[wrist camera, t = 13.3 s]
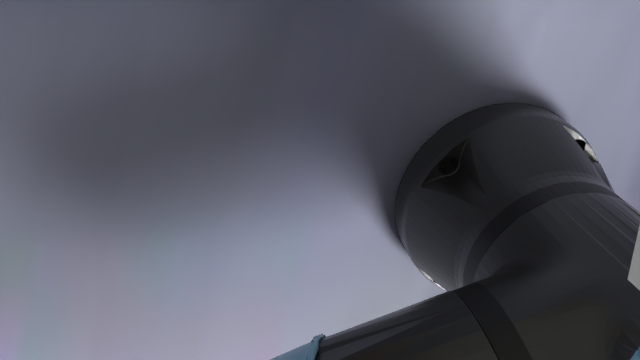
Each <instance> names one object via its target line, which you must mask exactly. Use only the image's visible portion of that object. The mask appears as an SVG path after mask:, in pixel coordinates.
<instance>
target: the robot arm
mask: <svg viewBox="0 0 640 360" xmlns="http://www.w3.org/2000/svg"><path fill="white" fill-rule="evenodd" d="M395 217H396V226H397V230H398V234H399V237H400V239H401V242H402V244H403V245H404V247H405V249H406V251H407V253H408V254H409V256H410V258H411V260H412V261H413V263H414V264H415V266H416V267H417V268H418V270H419V271H420V272H421V273H422V274H423V275H424V276H425V277H426V278H427V279H429V280H430V281H431V282H433V283H434V284H436V285H437V286H439V287H441V288H442V289H444V290H446V291H448V292H445V293H443V294H440V295H437V296H435V297H432V298H429V299H427V300H424V301H421V302H419V303H416V304H414V305H411V306H408V307H406V308H403V309H400V310H398V311H395V312H392V313H390V314H387V315H384V316H382V317H379V318H376V319H374V320H371V321H368V322H366V323H363V324H360V325H358V326H355V327H352V328H350V329H347V330H345V331H342V332H339V333H336V334H334V335H331V336H328V337H326V336H325V335H323V334H320V335H317V336H315V337H314V338H313V339H312V341H311V342H310V343H307V344H305V345H303V346H301V347H298V348H296V349H294V350H291V351H289V352H287V353H284V354H282V355H280V356H277V357H275V358H273V359H270V360H640V212H638V211H637V210H636V209H634V208H633V207H632V206H630V205H629V204H628V203H626V202H625V201H624V200H623V199H621V198H620V197H619V196H618V195H616V194H615V192H614V190H613V188H612V186H611V184H610V182H609V180H608V178H607V176H606V174H605V172H604V170H603V168H602V167H601V165H600V163H599V162H598V159H597V157H596V155H595V153H594V151H593V149H592V147H591V146H590V144H589V143H588V142H587V140H586V139H585V138H584V137H583V136H582V135H581V134H580V133H579V132H578V131H577V130H576V129H575V128H574V127H572V126H571V125H569V124H568V123H567V122H565V121H564V120H562V119H561V118H559V117H558V116H557V115H555V114H553V113H552V112H550V111H548V110H545V109H543V108H540V107H537V106H533V105H528V104H519V103H507V104H498V105H492V106H488V107H484V108H481V109H478V110H475V111H472V112H470V113H468V114H465V115H463V116H461V117H459V118H458V119H456V120H454V121H452V122H451V123H449V124H448V125H446V126H445V127H444V128H442V129H441V130H440V131H438V132H437V133H436V134H435V135H434V136H433V137H431V138H430V139H429V140H428V141H427V142H426V143H425V145H424V146H423V147H422V148H421V149H420V150H419V152H418V153H417V154H416V156H415V157H414V158H413V160H412V161H411V163H410V165H409V166H408V168H407V170H406V172H405V174H404V176H403V179H402V181H401V184H400V187H399V190H398V194H397V199H396V209H395Z"/></svg>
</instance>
